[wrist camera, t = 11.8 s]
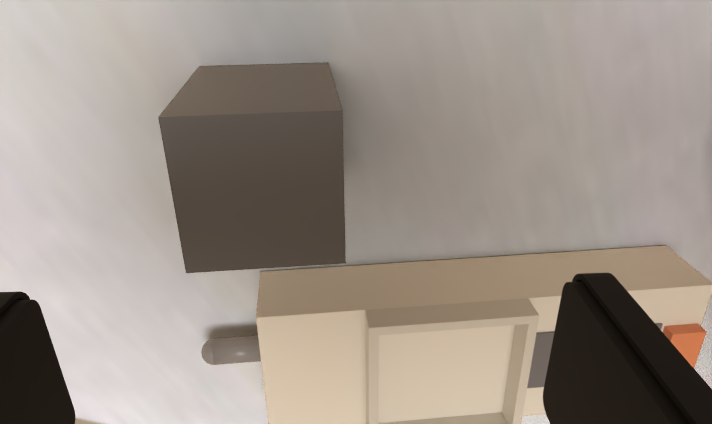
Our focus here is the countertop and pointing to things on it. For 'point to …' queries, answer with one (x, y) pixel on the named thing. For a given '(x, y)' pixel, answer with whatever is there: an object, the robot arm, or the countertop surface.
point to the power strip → (439, 333)
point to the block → (257, 167)
